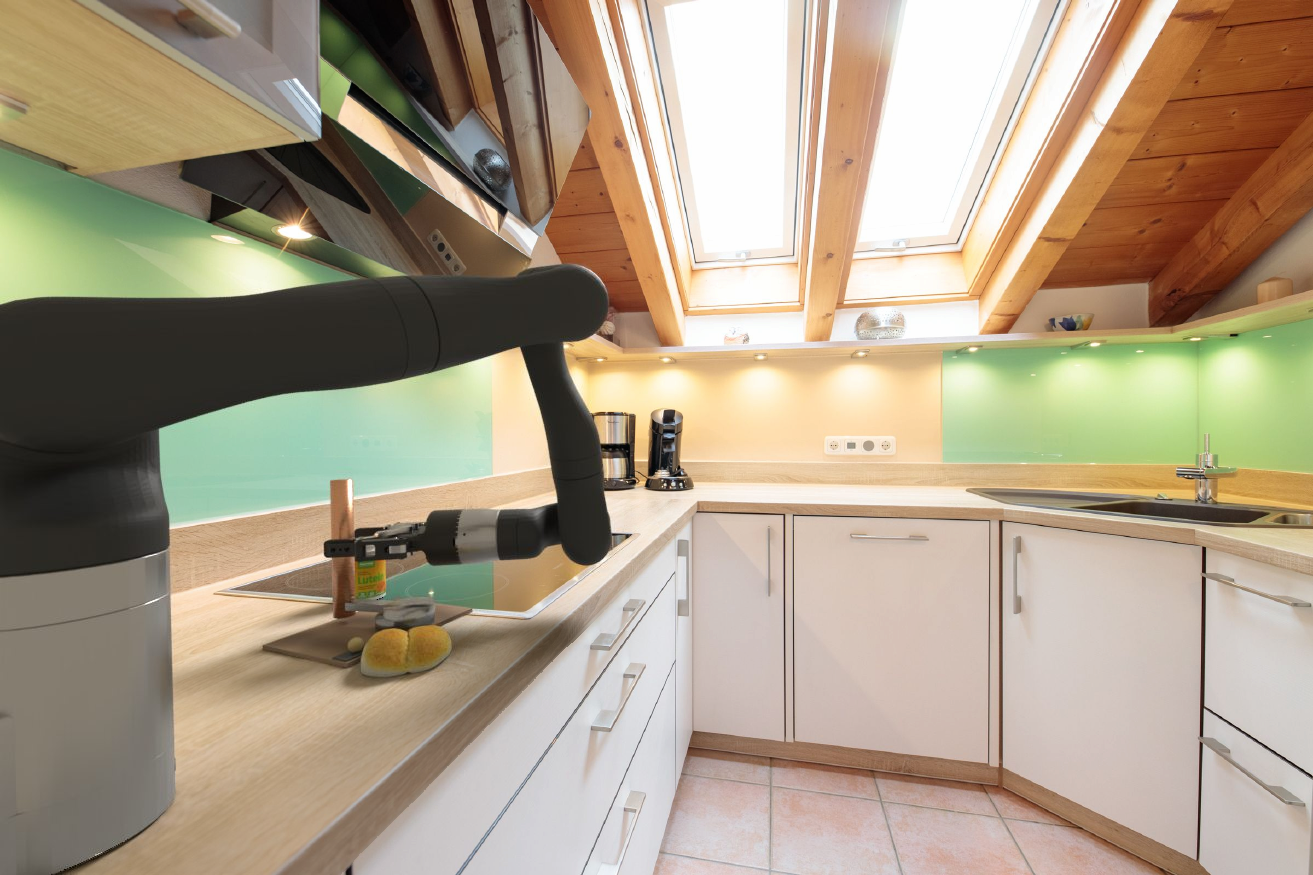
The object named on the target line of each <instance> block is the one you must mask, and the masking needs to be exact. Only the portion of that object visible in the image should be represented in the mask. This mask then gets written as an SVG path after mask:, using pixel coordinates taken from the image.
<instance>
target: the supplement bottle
mask: <svg viewBox="0 0 1313 875" xmlns="http://www.w3.org/2000/svg"><path fill="white" fill-rule="evenodd" d="M374 550H375V546H374V545H366V552H370V551H374ZM386 561H387V560H377V561H363V562H355V598H356V599H372V600H375V599H378V600H380V599H379V598H381V599H383V598H384V597H385V596H386V595H387V578H386V577H387V573H386V570H387V569H386V567H387V566H386V565H387V563H386ZM382 597H383V598H382Z"/></svg>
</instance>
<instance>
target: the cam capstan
mask: <svg viewBox="0 0 1313 875" xmlns="http://www.w3.org/2000/svg"><path fill="white" fill-rule="evenodd" d="M329 489H330V490H329V493H330V494H329V499H330V533H331V534H330V536H331V537H330V539H351V538H354V531H355V514H354V479H353V478H342V479H341V478H337V479H331V480H329ZM331 586H332V587H331V588H332V590H331V591H332V595H331V596H332V618H333V619H334V620H336V619H342V618H348V617H351V616H354V615H355V614H356V612H358V611H361V612H376V613H378V614H377V615H376V616H375V629H376V630H379V631H382V630H385V629H393V628H396V629H401V630H404V631H408V630H410V629H412V628H414V627H419V626H428V625H430V624H432V623H433V622H434V621H435V603H436V599H434V598H432V597H428V596H415V597H414V596H413V597H407V598H403V599H401V600H397V601H390V600H386V599H378V600H372V599H356V598H355V558H354V557H338V558H331Z"/></svg>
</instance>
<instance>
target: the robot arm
mask: <svg viewBox="0 0 1313 875" xmlns="http://www.w3.org/2000/svg"><path fill="white" fill-rule="evenodd" d="M609 298H610V296H609V293H608V290H607V288H606V285H605V284H604V283H603V281H602V280H601V278H600V277H599V276H598V275H597V274H596V273H595V272H593V271H592V270H591V269H589V268H587V267H585V266H583V265H580V264H576V263H559V264H551V265H544V266H537V267H530V268H526V269H524V270H522V271H520V272H519V273H517V274H516V275H515V276H504V277H503V276H484V275H483V276H482V275H481V276H480V275H479V276H478V275H477V276H476V275H452V274H451V275H450V274H448V275H446V274H440V275H439V274H433V275H432V274H424V275H423V274H422V275H421V274H420V275H394V276H393V275H392V276H379V277H365V278H356V279H355V278H354V279H347V280H340V281H339V280H338V281H332V282H325V283H324V282H323V283H316V284H315V283H314V284H308V285H300V286H295V287H289V288H284V289H277V290H271V291H266V292H262V293H261V292H260V293H254V294H253V293H252V294H246V295H233V296H232V295H231V296H211V297H208V296H207V297H200V296H199V297H118V296H117V297H116V296H115V297H112V296H109V297H108V296H37V297H28V298H22V299H14V300H11V301H8V302H4V303H1V304H0V875H51V874H53V875H55V874H57V873H60V871H61V872H63V871H65V870H64V869H66V870H68V869H70V868H69V867H71V868H73V867H72V866H73V865H76V866H78V865H77V864H79V863H81V862H83V861H85V860H87V859H89V858H91V857H93V856H95V854H98V853H101V852H104V851H106V850H108V849H110V848H111V847H113V848H115V847H117V846H119V845H121V844H122V843H121V842H123V843H125V842H126V841H127V839H128V840H129V839H131V838H132V837H133V836H135V835H137V834H139V833H140V832H141V831H143V830H144V829H146V828H147V827H148V826H150V825H151V824H152V823H153V822H155V821H156V820H157V819H158V818H160V816H161V815H162V814H163V813H164V812H165V811H166V810H167V809H168V808H169V807H170V805H171V804H172V802H173V801H174V799H175V795H176V770H177V768H176V767H177V766H176V765H177V762H176V756H175V723H174V721H175V720H174V715H175V714H174V712H175V711H174V682H173V680H174V678H173V644H172V643H173V641H172V639H173V638H172V636H173V635H172V602H171V601H172V598H171V591H172V589H171V552H170V551H171V549H170V548H171V547H170V545H171V538H170V537H171V535H170V534H171V532H170V531H171V530H170V529H171V528H170V527H171V526H170V513H169V509H168V506H167V502H166V498H165V493H164V487H163V483H162V482H163V481H162V480H163V479H162V474H161V454H160V452H161V451H160V429H164V428H165V427H170V426H172V425H175V424H178V423H181V422H184V421H189V420H191V419H195V418H198V417H201V416H204V415H208V414H211V413H214V412H218V411H221V410H225V409H228V408H232V407H235V406H238V405H242V404H243V405H244V404H245V403H249V402H254V401H258V400H261V399H267V398H271V397H277V396H281V395H288V394H298V393H311V392H324V391H338V390H345V389H348V390H349V389H356V388H364V387H371V386H376V385H383V384H389V383H393V382H397V381H401V380H406V379H410V378H416V377H420V376H423V375H429V374H432V373H436V372H439V371H443V370H446V369H449V368H453V367H457V366H461V365H465V364H468V363H472V362H475V361H479V360H482V359H485V358H488V357H489V358H490V357H491V356H495V355H497V354H501V353H503V352H504V353H505V352H506V351H510V350H513V349H517V348H519V349H520V352H521V355H522V357H523V360H524V366H525V367H526V371H527V373H528V376H529V380H530V383H531V386H532V389H533V392H534V396H535V398H536V402H537V404H538V408H539V411H540V415H541V419H542V424H543V428H544V432H545V438H546V443H547V449H548V457H549V462H550V469H551V470H550V471H551V474H552V480H553V483H554V489H555V494H556V500H557V501H556V502H554V503H550V504H545V505H542V506H537V507H532V508H509V509H508V508H505V509H494V508H459V509H456V508H455V509H435V510H432V511H431V512H429V514H428V516H427V518H426V520H425V521H418V522H417V521H413V522H400V521H399V522H396V523H393V524H387V525H386V524H385V525H384V526H373V527H372V526H371V527H358V528H356V529H354V538H351V539H331V538H330V539H328V540H325V541H324V542H323V556H324V558H327V559H332V558H338V557H354V558H355V562H363V561H377V560H386V561H389V560H400V561H401V560H404V559H407V558H408V557H411V556H414V554H415V553H417V552H418V553H419V552H423V553H424V555H425V560H426V562H427V563H428V564H429V565H430V566H432V567H439V566H441V567H442V566H456V565H458V566H461V565H477V564H480V565H481V564H485V563H486V564H487V563H493V562H499V561H517V560H519V561H521V560H528V559H529V560H530V559H535V558H537V557H539V556H540V555H541V554H542V553H543V552H544V551H545V549H546V548H549V547H554V546H558V545H560V546H561V549H562V551H563V552H564V554H565V556H566V557H567V558H568V559H569V560H570V561H571V562H572V563H574V564H576V565H579V566H584V567H585V566H586V567H588V566H594V565H596V564H598V563H600V562H601V561H603V560H604V559H605V558H606V556H607V555H608V553H609V552H610V549H611V547H612V542H613V533H612V525H611V524H612V523H611V522H612V521H611V516H610V513H609V512H608V511H609V510H608V507H607V500H606V495H605V468H604V462H603V453H602V446H601V445H602V444H601V438H600V434H599V431H598V428H597V427H598V426H597V425H596V423H595V420H594V418H593V416H592V414H591V412H590V410H589V408H588V406H587V405H586V403H585V401H584V399H583V398H582V396H581V394H580V393H579V390H578V389H577V387H576V384H575V383H574V380H573V377H572V375H571V373H570V370H569V367H568V364H567V360H566V355H565V346H564V344H565V343H575V342H581V341H585V340H587V339H589V338H591V337H592V336H594V335H595V334H596V333H597V332H599V330H600V329H601V328H602V326H604V323H605V321H606V319H607V316H608V313H609V307H610V299H609ZM366 545H374V546H375V550H374V551H370V552H366ZM172 800H173V801H172ZM125 840H126V841H125ZM120 843H121V844H120ZM118 844H119V845H118ZM116 845H117V846H116ZM114 846H115V847H114ZM110 850H111V849H110ZM108 851H109V850H108ZM106 852H107V851H106ZM104 853H105V852H104ZM89 860H90V859H89ZM87 861H88V860H87ZM85 862H86V861H85ZM83 863H84V862H83ZM81 864H82V863H81ZM79 865H80V864H79ZM67 868H68V869H67Z"/></svg>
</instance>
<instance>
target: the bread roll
mask: <svg viewBox="0 0 1313 875" xmlns="http://www.w3.org/2000/svg"><path fill="white" fill-rule="evenodd" d="M451 652H452V640H451V637H450V635H449V633H448V632H447V631H446V630H445V629H444V628H443V627H441V626H436V625H428V626H419V627H414V628H412V629H410V630H408V631H404V630H401V629H396V628H393V629H385V630H382V631H379V632H377V633H375V634H374V635H373V636H372V637H371V638H370V639H369V641H368V642H367V644H366V645H365V647H364V649H363V652H362V657H361V662H360V672H361V674H363V675H364V676H367V677H373V678H391V677H398V676H401V675H405V674H407V673H411V674H415V673H421V672H424V671H429V670H431V669H432V668H435V667H437V665H439V664H441V663H442V662H443V661H444V660H445V659H446V658H447V657H448V656H450V654H451Z"/></svg>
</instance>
